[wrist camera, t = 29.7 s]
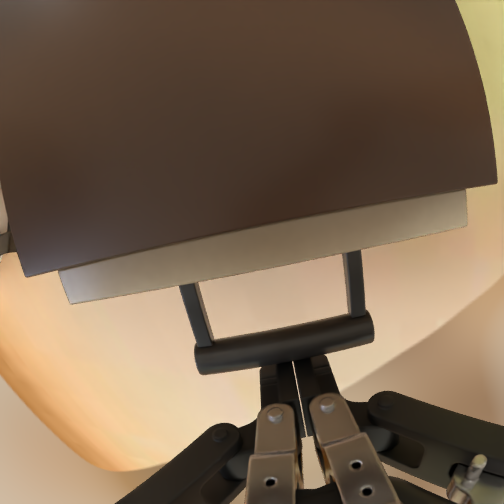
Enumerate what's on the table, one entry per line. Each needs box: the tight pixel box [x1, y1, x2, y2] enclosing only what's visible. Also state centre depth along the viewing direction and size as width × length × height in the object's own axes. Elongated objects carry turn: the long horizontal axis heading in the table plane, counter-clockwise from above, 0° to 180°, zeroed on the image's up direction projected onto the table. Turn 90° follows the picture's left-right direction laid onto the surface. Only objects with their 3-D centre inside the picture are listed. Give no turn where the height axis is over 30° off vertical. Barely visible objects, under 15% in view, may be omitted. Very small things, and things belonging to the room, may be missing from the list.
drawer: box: [58, 189, 468, 375], centre depth 10 cm, size 20×13×7 cm, turn 12°
